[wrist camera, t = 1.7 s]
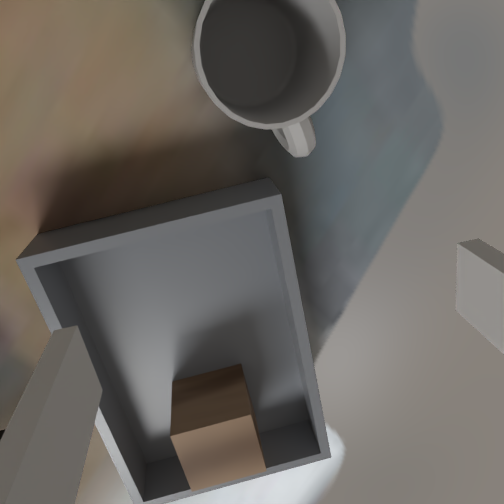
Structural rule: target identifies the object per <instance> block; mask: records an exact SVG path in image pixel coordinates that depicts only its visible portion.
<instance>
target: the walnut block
mask: <svg viewBox="0 0 504 504" xmlns="http://www.w3.org/2000/svg"><path fill="white" fill-rule="evenodd" d="M170 437H171V440H172V442H173V445H174V447H175V450H176V453H177V455H178V458H179V460H180V463H181V465H182V468H183V470H184V473H185V475H186V478H187V481H188V483H189V486H190V488H191V491H192V492H193V491H197V490H200V489H204V488H207V487H211V486H215V485H218V484H222V483H226V482H229V481H233V480H236V479H240V478H244V477H247V476H251V475H254V474H258V473H262V472H265V471H267V470H266V465H265V460H264V455H263V450H262V445H261V440H260V435H259V431H258V426H257V421H256V416H255V412H254V408H253V405H252V401H251V398H250V394H249V390H248V387H247V383H246V379H245V376H244V372H243V368H242V365H241V364H237V365H233V366H229V367H226V368H222V369H218V370H214V371H210V372H207V373H203V374H199V375H195V376H192V377H188V378H184V379H180V380H176V381H173V382H172V398H171V426H170Z"/></svg>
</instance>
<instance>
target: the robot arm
mask: <svg viewBox="0 0 504 504" xmlns="http://www.w3.org/2000/svg"><path fill="white" fill-rule="evenodd" d="M456 311H457V312H458V313H459V314H460V315H461V316H462V317H463V318H464V319H466V320H467V321H468V322H469V323H470V324H471V325H472V326H473V327H474V328H475V329H476V330H478V331H479V332H480V333H481V334H482V335H483V336H484V337H485V338H486V339H487V340H489V341H490V342H491V343H492V344H493V345H494V346H495V347H496V348H497V349H499V351H501V352H502V353H503V354H504V254H503V253H502V252H500V251H498V250H497V249H495V248H493V247H492V246H490V245H488V244H487V243H485V242H483V241H482V240H480V239H474V240H469V241H466V242H460V243H458V245H457V277H456ZM102 391H103V390H102V387H101V385H100V382H99V379H98V377H97V374H96V372H95V369H94V367H93V364H92V362H91V359H90V357H89V354H88V351H87V349H86V346H85V344H84V341H83V339H82V336H81V334H80V331H79V328H78V326H72V327H67V328H63V329H58V330H54V331H53V333H52V335H51V337H50V339H49V341H48V343H47V345H46V347H45V350H44V352H43V354H42V356H41V358H40V360H39V362H38V364H37V366H36V368H35V370H34V372H33V374H32V376H31V378H30V380H29V382H28V385H27V387H26V389H25V391H24V393H23V395H22V397H21V399H20V401H19V403H18V405H17V407H16V409H15V411H14V413H13V415H12V417H11V419H10V422H9V424H8V426H7V428H6V430H1V431H0V504H75V500H76V496H77V492H78V488H79V484H80V480H81V476H82V472H83V468H84V464H85V460H86V456H87V451H88V447H89V443H90V439H91V435H92V431H93V427H94V423H95V419H96V415H97V411H98V407H99V403H100V399H101V395H102Z"/></svg>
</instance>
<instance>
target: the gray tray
mask: <svg viewBox="0 0 504 504" xmlns="http://www.w3.org/2000/svg"><path fill="white" fill-rule="evenodd" d="M16 261H17V264H18V266H19V268H20V270H21V272H22V274H23V276H24V278H25V280H26V282H27V284H28V286H29V288H30V290H31V293H32V295H33V297H34V299H35V301H36V303H37V305H38V307H39V309H40V311H41V313H42V315H43V317H44V319H45V322H46V324H47V326H48V328H49V330H50V332H51V334H52V333H53V331H54V330H58V329H63V328H67V327H72V326H78V328H79V331H80V334H81V336H82V339H83V341H84V344H85V346H86V349H87V351H88V354H89V357H90V359H91V362H92V364H93V367H94V369H95V372H96V374H97V377H98V379H99V382H100V385H101V387H102V390H103V391H102V395H101V399H100V403H99V407H98V411H97V415H96V419H95V425H96V427H97V429H98V431H99V433H100V435H101V437H102V439H103V442H104V444H105V446H106V448H107V450H108V452H109V454H110V456H111V458H112V460H113V462H114V464H115V466H116V468H117V471H118V473H119V475H120V477H121V479H122V481H123V483H124V485H125V487H126V489H127V491H128V493H129V495H130V497H131V500H132V502H133V504H164V503H168V502H172V501H175V500H179V499H183V498H186V497H190V496H193V495H197V494H201V493H204V492H208V491H211V490H215V489H219V488H222V487H226V486H229V485H233V484H237V483H240V482H244V481H248V480H251V479H255V478H258V477H262V476H266V475H269V474H273V473H276V472H280V471H284V470H287V469H291V468H295V467H298V466H302V465H305V464H309V463H313V462H316V461H320V460H323V459H327V458H331V453H330V448H329V443H328V437H327V432H326V427H325V422H324V416H323V411H322V406H321V401H320V395H319V390H318V385H317V379H316V374H315V369H314V364H313V358H312V353H311V348H310V342H309V337H308V332H307V327H306V321H305V316H304V311H303V305H302V300H301V295H300V290H299V284H298V279H297V274H296V268H295V263H294V258H293V253H292V247H291V242H290V237H289V232H288V226H287V221H286V216H285V210H284V205H283V200H282V195H281V193H280V191H279V190H278V189H277V187H276V186H275V185H274V183H273V182H272V181H271V179H270V178H269V177H268V178H264V179H260V180H256V181H251V182H247V183H243V184H239V185H235V186H231V187H227V188H223V189H219V190H215V191H211V192H207V193H203V194H199V195H194V196H190V197H186V198H182V199H178V200H174V201H170V202H166V203H162V204H158V205H154V206H150V207H146V208H142V209H138V210H133V211H129V212H125V213H121V214H117V215H113V216H109V217H105V218H101V219H97V220H93V221H89V222H85V223H81V224H76V225H72V226H68V227H64V228H60V229H56V230H52V231H48V232H44V233H40V234H37V235H36V236H35V238H34V239H33V240H32V241H31V242H30V244H29V245H28V246H27V247H26V248H25V249H24V251H23V252H22V253H21V254H20V255H19V256H18V258H17V259H16ZM237 364H241V365H242V368H243V372H244V376H245V379H246V383H247V387H248V390H249V394H250V398H251V401H252V405H253V408H254V412H255V416H256V421H257V426H258V431H259V435H260V440H261V445H262V450H263V455H264V460H265V465H266V470H267V471H265V472H262V473H258V474H254V475H251V476H247V477H244V478H240V479H236V480H233V481H229V482H226V483H222V484H218V485H215V486H211V487H207V488H204V489H200V490H197V491H193V492H192V491H191V488H190V486H189V483H188V481H187V478H186V475H185V473H184V470H183V468H182V465H181V463H180V460H179V458H178V455H177V453H176V450H175V447H174V445H173V442H172V440H171V437H170V426H171V398H172V382H173V381H176V380H180V379H184V378H188V377H192V376H195V375H199V374H203V373H207V372H210V371H214V370H218V369H222V368H226V367H229V366H233V365H237Z"/></svg>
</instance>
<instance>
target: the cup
mask: <svg viewBox="0 0 504 504" xmlns="http://www.w3.org/2000/svg"><path fill="white" fill-rule="evenodd" d="M345 46H346V33H345V29H344V24H343V19H342V15H341V11H340V9H339V7H338V5H337V3H336V1H335V0H205V2H204V5H203V7H202V10H201V12H200V15H199V17H198V20H197V22H196V26H195V29H194V32H193V38H192V46H191V53H192V62H193V67H194V70H195V73H196V76H197V78H198V81H199V82H200V84H201V85H202V87H203V88H204V90H205V91H206V93H207V94H208V96H209V97H210V98H211V100H212V101H213V102H214V104H215V105H216V106H217V107H219V108H220V109H221V110H222V111H223V112H224V113H225V114H226V115H228V116H229V117H230V118H232V119H234V120H236V121H238V122H240V123H242V124H244V125H246V126H249V127H255V128H260V129H265V130H267V129H272V131H273V133H274V135H275V136H276V138H277V139H278V141H279V142H280V144H281V145H282V146H283V147H284V148H285V149H286V150H287V151H288V152H289V153H290V154H291V155H293V156H294V157H305V156H308V155H309V154H310V153H311V152H312V150H313V149H314V148H315V145H316V139H315V130H314V126H313V123H312V120H311V117H310V115H312V114H313V113H314V112H316V111H317V110H318V109H319V108H320V107H321V106H322V105H323V103H324V102H325V101H326V100H327V99H328V98H329V96H330V95H331V93H332V92H333V90H334V88H335V86H336V84H337V82H338V80H339V78H340V75H341V71H342V67H343V63H344V59H345Z"/></svg>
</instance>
